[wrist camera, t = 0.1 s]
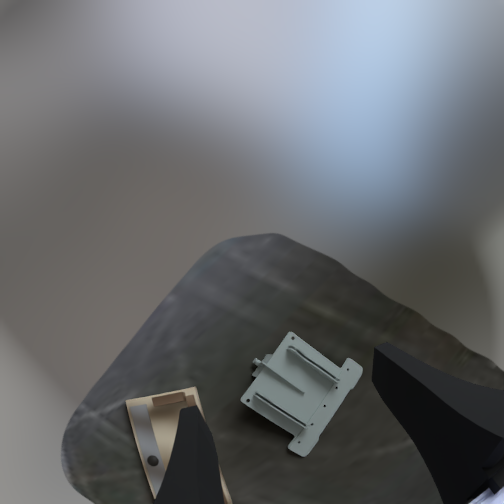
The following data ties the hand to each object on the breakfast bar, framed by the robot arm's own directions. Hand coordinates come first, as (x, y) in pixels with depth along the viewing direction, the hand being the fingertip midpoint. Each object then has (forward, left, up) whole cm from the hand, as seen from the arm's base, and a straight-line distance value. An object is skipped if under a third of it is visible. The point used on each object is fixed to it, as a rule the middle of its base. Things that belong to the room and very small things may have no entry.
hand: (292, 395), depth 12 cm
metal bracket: (-1, -5, -33) cm, 33 cm away
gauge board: (-8, +13, -32) cm, 35 cm away
